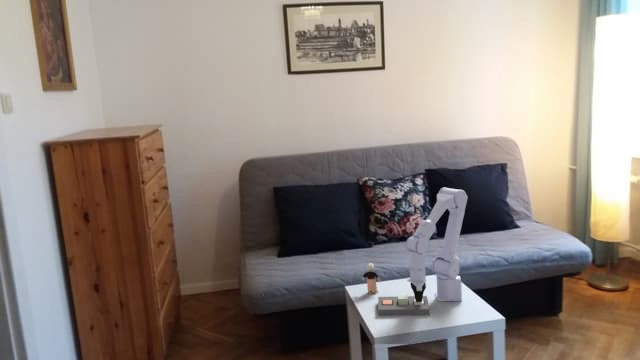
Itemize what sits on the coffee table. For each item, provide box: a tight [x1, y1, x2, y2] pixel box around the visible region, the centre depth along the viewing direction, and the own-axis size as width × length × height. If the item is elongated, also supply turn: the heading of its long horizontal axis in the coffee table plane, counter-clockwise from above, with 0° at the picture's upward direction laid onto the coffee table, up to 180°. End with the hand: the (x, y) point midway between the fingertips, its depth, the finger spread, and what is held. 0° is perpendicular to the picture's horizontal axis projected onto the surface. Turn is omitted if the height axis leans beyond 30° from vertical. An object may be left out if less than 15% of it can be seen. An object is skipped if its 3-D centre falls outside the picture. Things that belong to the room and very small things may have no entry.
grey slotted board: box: [377, 295, 431, 317], centre depth 195 cm, size 19×12×2 cm, turn 83°
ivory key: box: [414, 299, 424, 305], centre depth 194 cm, size 4×4×3 cm
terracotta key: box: [383, 300, 392, 305], centre depth 196 cm, size 4×4×3 cm
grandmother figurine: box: [361, 262, 381, 295], centre depth 213 cm, size 8×4×13 cm, turn 84°
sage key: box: [397, 294, 409, 305], centre depth 195 cm, size 4×4×3 cm
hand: (418, 301), depth 194 cm, fingers closed, pressing on ivory key
